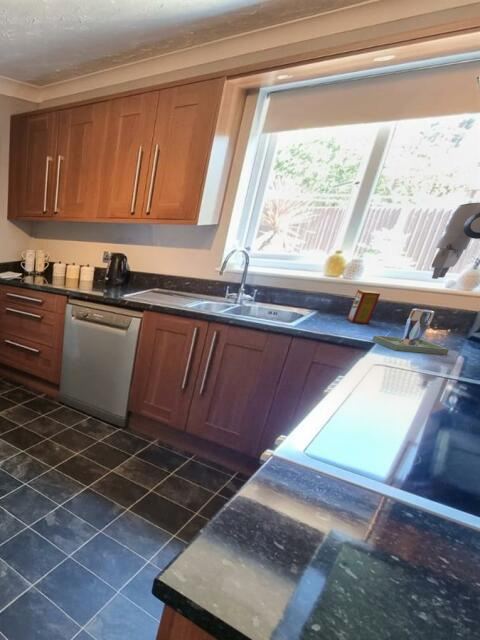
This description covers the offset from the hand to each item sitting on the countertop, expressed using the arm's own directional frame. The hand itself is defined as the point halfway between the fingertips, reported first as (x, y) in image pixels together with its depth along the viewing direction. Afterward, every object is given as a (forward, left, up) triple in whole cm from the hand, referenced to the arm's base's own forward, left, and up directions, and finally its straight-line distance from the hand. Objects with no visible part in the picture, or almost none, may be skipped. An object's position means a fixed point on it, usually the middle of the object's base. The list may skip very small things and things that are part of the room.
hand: (437, 278), depth 183 cm
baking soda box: (+6, -31, -27) cm, 42 cm away
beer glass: (+12, +19, -26) cm, 35 cm away
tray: (+12, +19, -27) cm, 35 cm away
